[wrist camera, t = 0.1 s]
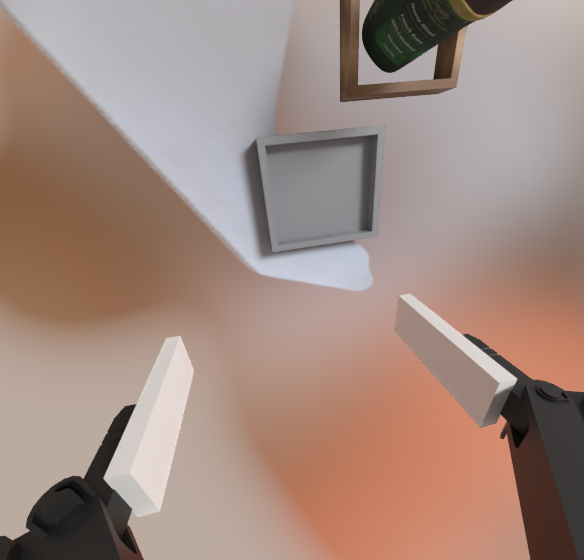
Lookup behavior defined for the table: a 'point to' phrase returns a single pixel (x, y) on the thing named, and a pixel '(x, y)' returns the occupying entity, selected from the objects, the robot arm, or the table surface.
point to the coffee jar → (417, 27)
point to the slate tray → (321, 186)
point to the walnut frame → (442, 81)
